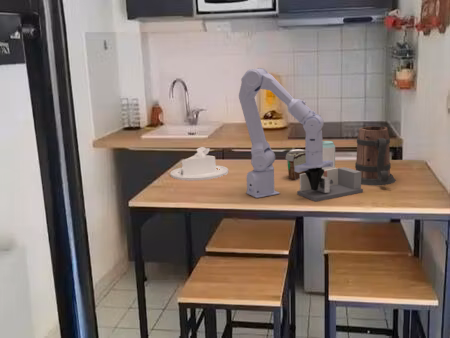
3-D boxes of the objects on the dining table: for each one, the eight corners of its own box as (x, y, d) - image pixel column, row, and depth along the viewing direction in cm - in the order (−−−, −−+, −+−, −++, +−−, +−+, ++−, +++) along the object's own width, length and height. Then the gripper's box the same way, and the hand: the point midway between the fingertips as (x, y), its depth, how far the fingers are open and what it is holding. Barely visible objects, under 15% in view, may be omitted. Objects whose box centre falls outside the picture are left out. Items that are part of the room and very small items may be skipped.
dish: (201, 165, 236) (200, 141, 233) (240, 172, 218) (239, 146, 215) (158, 175, 219) (156, 150, 216) (197, 184, 201) (195, 156, 199)
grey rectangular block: (324, 193, 173) (324, 177, 172) (312, 188, 180) (311, 173, 179) (337, 190, 176) (337, 175, 174) (324, 186, 182) (324, 171, 181)
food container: (296, 173, 210) (295, 149, 208) (309, 174, 207) (309, 150, 204) (279, 179, 201) (279, 154, 199) (293, 181, 197) (292, 156, 195)
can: (316, 171, 211) (316, 143, 208) (319, 168, 217) (319, 140, 214) (333, 172, 208) (333, 143, 205) (336, 168, 215) (336, 140, 212)
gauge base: (315, 201, 170) (315, 180, 168) (297, 194, 180) (296, 174, 178) (362, 192, 178) (363, 172, 176) (342, 185, 188) (343, 166, 186)
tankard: (345, 175, 202) (345, 125, 198) (387, 173, 202) (388, 123, 198) (361, 191, 179) (361, 135, 175) (408, 189, 179) (410, 132, 175)
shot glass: (308, 165, 223) (308, 149, 221) (299, 168, 218) (299, 152, 217) (295, 163, 228) (295, 148, 226) (286, 166, 223) (286, 150, 221)
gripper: (302, 155, 166) (303, 195, 169) (338, 149, 172) (338, 188, 175) (290, 152, 172) (291, 190, 175) (326, 146, 178) (326, 184, 181)
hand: (314, 189), depth 175 cm, fingers closed
